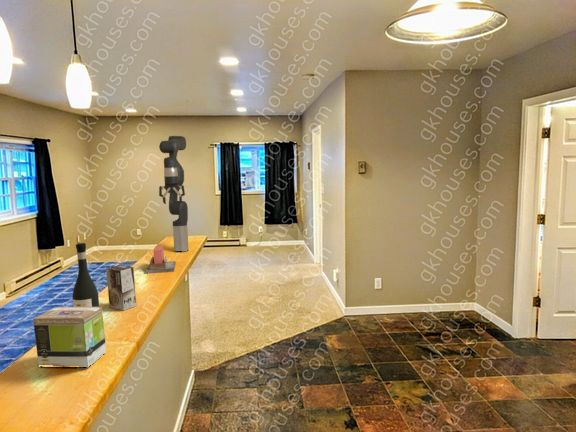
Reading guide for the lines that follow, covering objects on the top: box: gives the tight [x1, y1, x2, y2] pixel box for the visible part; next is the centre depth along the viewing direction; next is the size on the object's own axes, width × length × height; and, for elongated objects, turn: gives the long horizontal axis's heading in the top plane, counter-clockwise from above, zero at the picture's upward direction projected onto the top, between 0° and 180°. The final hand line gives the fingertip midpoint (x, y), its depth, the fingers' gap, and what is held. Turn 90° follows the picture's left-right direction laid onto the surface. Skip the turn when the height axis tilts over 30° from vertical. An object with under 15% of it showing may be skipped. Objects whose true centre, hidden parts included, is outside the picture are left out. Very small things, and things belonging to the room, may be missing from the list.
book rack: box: [145, 256, 177, 275], centre depth 222 cm, size 18×14×6 cm
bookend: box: [164, 255, 173, 268], centre depth 223 cm, size 10×4×4 cm, turn 13°
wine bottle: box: [72, 242, 100, 307], centre depth 139 cm, size 8×8×30 cm
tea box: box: [32, 306, 107, 367], centre depth 116 cm, size 15×10×15 cm, turn 84°
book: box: [152, 245, 165, 264], centre depth 222 cm, size 4×12×10 cm, turn 12°
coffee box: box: [105, 264, 137, 311], centre depth 161 cm, size 9×6×16 cm
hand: (172, 203), depth 236 cm, fingers open, 8 cm apart
